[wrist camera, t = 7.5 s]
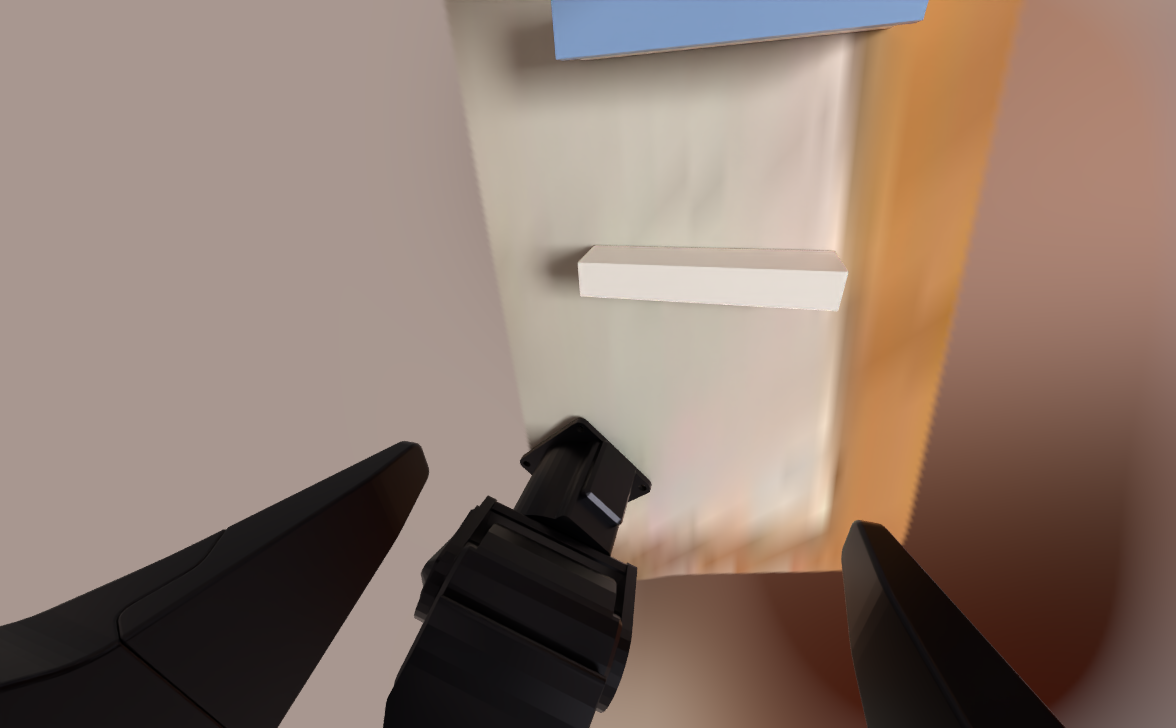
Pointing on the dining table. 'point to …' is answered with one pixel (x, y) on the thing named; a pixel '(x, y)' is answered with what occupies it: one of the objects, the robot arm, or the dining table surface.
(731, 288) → the rail comb
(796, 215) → the dining table surface
